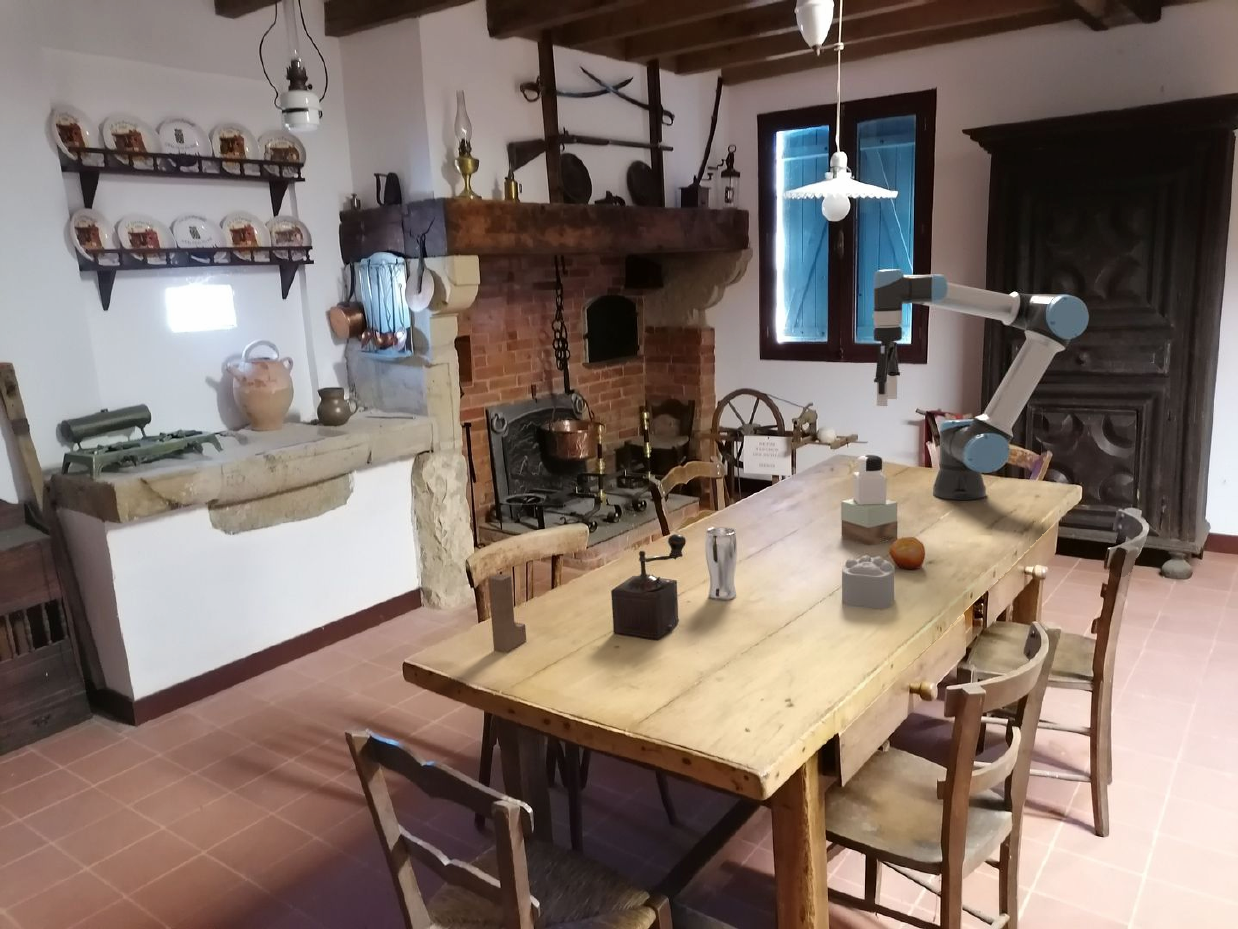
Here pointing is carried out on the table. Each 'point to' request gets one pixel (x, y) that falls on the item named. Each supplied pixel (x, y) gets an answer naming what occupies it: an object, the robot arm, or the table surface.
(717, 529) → the beer glass
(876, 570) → the lumpy-topped squat cylinder
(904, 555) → the fruit
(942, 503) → the table surface
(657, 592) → the coffee grinder
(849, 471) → the table surface
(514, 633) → the wooden block
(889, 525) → the walnut slab
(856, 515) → the sage slab
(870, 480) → the medicine bottle
